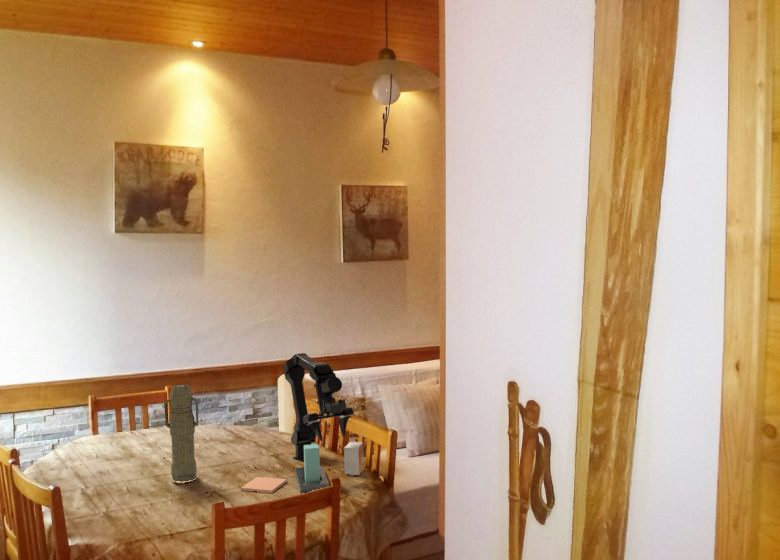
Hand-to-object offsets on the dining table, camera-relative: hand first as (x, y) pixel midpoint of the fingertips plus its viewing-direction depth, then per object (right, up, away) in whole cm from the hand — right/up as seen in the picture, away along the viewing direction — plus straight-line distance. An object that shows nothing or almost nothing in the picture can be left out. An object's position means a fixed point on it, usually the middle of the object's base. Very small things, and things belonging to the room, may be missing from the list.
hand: (332, 438), depth 259 cm
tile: (-24, -15, -9) cm, 29 cm away
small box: (+8, -14, +4) cm, 16 cm away
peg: (-6, -14, -10) cm, 18 cm away
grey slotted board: (-7, -14, -6) cm, 17 cm away
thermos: (-55, -15, 0) cm, 57 cm away
